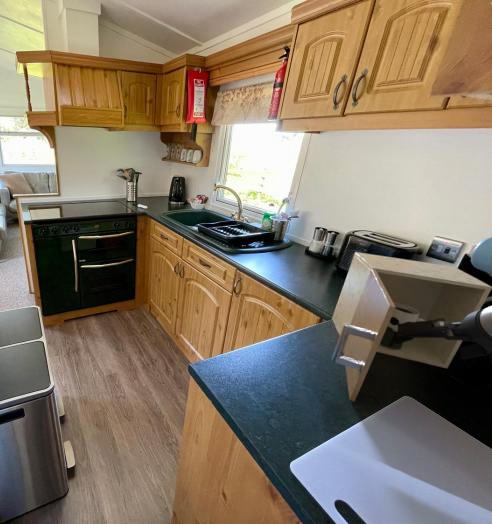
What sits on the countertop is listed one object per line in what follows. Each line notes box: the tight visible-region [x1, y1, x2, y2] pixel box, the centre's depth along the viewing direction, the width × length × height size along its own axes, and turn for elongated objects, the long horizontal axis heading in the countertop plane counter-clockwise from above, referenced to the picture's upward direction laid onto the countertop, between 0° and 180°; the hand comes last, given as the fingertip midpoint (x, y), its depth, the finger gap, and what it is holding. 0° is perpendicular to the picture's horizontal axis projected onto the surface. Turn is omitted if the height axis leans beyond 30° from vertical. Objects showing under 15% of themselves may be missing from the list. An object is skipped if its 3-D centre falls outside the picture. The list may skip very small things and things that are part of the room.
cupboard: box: [331, 251, 492, 369], centre depth 89 cm, size 16×26×26 cm, turn 70°
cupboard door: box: [330, 269, 396, 402], centre depth 76 cm, size 7×26×26 cm, turn 150°
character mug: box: [380, 303, 425, 350], centre depth 88 cm, size 11×7×13 cm, turn 55°
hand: (428, 345), depth 73 cm, fingers open, 13 cm apart
